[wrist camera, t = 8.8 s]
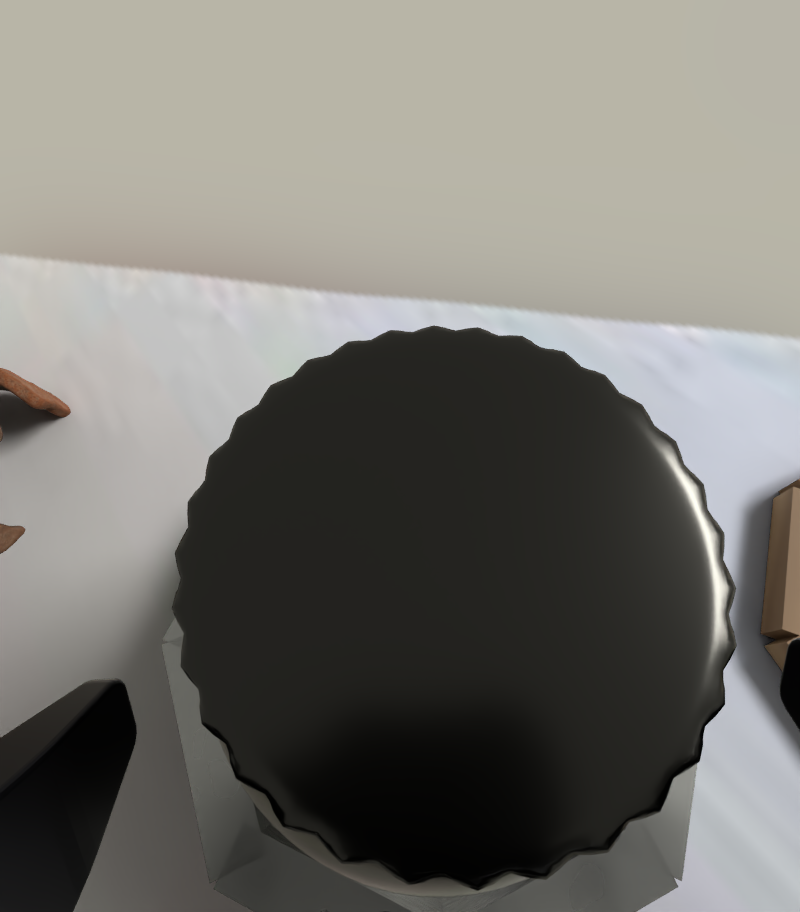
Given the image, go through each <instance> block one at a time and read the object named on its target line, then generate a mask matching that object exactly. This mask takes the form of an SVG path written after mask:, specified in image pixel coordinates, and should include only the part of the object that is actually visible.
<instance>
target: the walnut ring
mask: <svg viewBox="0 0 800 912" xmlns="http://www.w3.org/2000/svg"><path fill="white" fill-rule="evenodd" d="M778 492H779V493H780V495H778V496H777V497H775V498H773V507H772V518H771V528H770V539H769V549H768V560H767V571H766V581H765V592H764V603H763V613H762V624H761V634H762V635H765V636H768V637H770V638H773V639H776V640H775V641H773V642H772V643H770V644H768V645H766V646H765V648H766V649H767V651H768V652H769V653H770V655H771V656H772V658H773V659H774V661H775V662H776V663H777V665H778V666H779V668H780V669H781V670H782V672H783V667H784V662H785V658H786V653H787V648H788V645H789V644H790V642H791V641H792V640H793V639H796V638H800V479H798V480H797V481H795V482H793V483H792V484H790V485H788V486H787V487H785V488H783V489H782V490H780V491H778Z"/></svg>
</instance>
